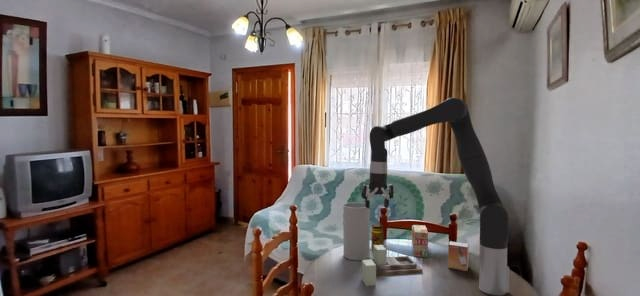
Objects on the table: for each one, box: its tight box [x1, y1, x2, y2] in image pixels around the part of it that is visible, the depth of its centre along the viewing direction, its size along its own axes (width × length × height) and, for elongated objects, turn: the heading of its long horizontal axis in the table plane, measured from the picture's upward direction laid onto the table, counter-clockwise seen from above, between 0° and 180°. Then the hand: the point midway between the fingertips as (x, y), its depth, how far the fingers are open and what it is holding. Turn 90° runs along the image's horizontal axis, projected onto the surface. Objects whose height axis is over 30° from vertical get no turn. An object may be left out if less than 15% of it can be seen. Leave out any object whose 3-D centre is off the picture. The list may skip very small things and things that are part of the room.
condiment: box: [370, 223, 387, 251], centre depth 174 cm, size 7×8×12 cm
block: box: [372, 244, 388, 266], centre depth 147 cm, size 4×6×8 cm, turn 8°
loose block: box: [361, 259, 377, 287], centre depth 134 cm, size 4×6×8 cm, turn 8°
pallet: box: [367, 255, 423, 277], centre depth 148 cm, size 22×14×3 cm, turn 98°
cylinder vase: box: [342, 201, 371, 262], centre depth 161 cm, size 12×12×25 cm
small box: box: [447, 240, 470, 272], centre depth 148 cm, size 8×6×10 cm
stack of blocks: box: [411, 224, 429, 258], centre depth 171 cm, size 21×6×12 cm, turn 168°
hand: (376, 207), depth 148 cm, fingers open, 8 cm apart
